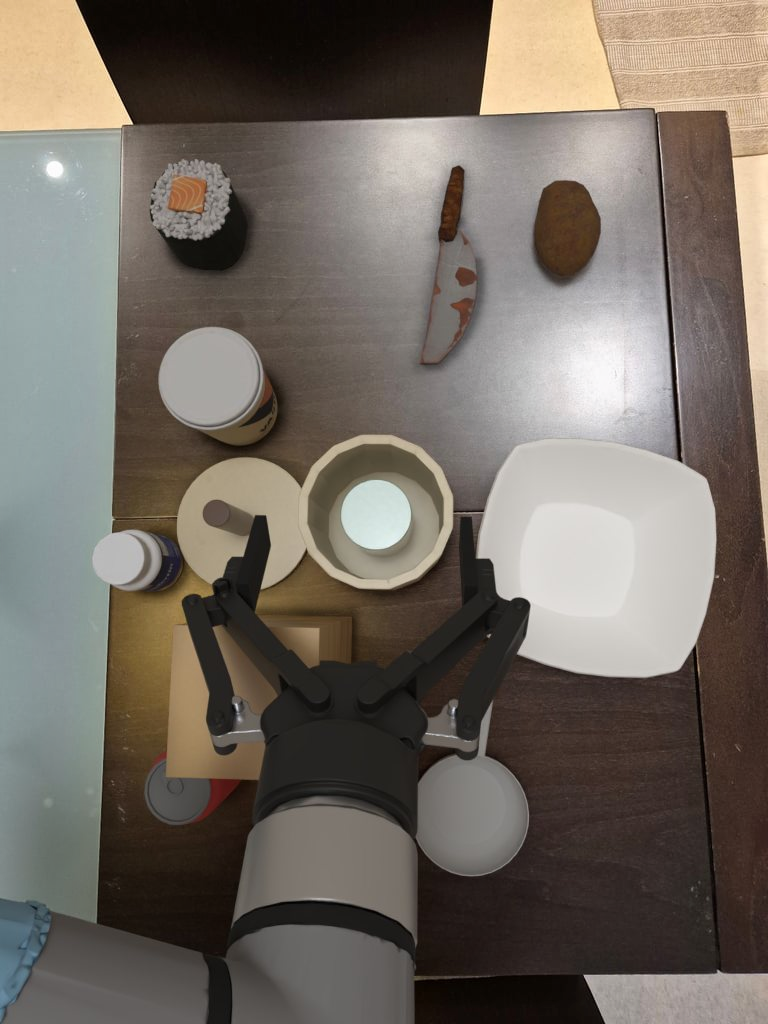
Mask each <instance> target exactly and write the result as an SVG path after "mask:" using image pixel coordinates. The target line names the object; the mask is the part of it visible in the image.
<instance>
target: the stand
mask: <svg viewBox="0 0 768 1024" xmlns="http://www.w3.org/2000/svg"><path fill="white" fill-rule="evenodd" d="M256 615H257V616H258V617H259V618H260V619H261V620H262V621H263V623H264V624H265V625H266V626H267V627H268V628H269V629H270V630H271V632H272V633H273V634H274V635H275V636H276V637H277V638H278V639H279V641H280V642H281V643H282V644H283V645H284V646H285V647H286V648H287V649H288V650H289V649H292V650H293V651H294V652H295V653H296V655H297V656H298V657H299V658H300V659H301V660H302V661H303V662H304V664H305V665H306V666H307V667H308V668H311V667H313V666H316V665H320V660H326V661H338V662H342V663H346V664H351V663H352V644H353V643H352V641H353V639H352V638H353V616H339V615H338V616H337V615H336V616H335V615H334V616H333V615H284V614H283V615H282V614H256ZM213 630H214V633H215V636H216V638H217V641H218V644H219V647H220V650H221V652H222V655H223V658H224V661H225V664H226V666H227V669H228V672H229V675H230V678H231V682H232V686H233V690H234V694H235V696H236V695H237V696H240V697H241V698H242V699H243V700H246V701H247V702H248V703H249V705H250V709H251V711H252V712H253V713H255V714H260V715H262V713H263V711H264V709H265V708H266V707H267V706H268V705H269V704H270V703H271V702H272V701H273V700H274V699H276V698H277V697H278V696H277V694H276V692H275V690H274V689H273V687H272V686H271V685H270V684H269V682H268V681H267V680H266V679H265V678H264V676H263V675H262V674H261V673H260V671H259V670H258V669H257V668H256V667H255V665H254V664H253V663H252V662H251V661H250V659H249V658H248V657H247V656H246V654H245V653H244V652H243V651H242V650H241V648H240V647H239V646H238V645H237V644H236V642H235V641H234V640H233V639H232V637H231V636H230V635H229V634H228V633H227V631H226V630H225V629H224V628H223V627H222V625H219V626H215V627H213ZM171 639H172V640H171V657H170V658H171V659H170V660H171V661H170V679H169V681H170V682H169V684H170V685H169V701H168V718H167V719H168V720H167V721H168V722H167V741H166V750H167V760H166V777H176V778H208V779H241V781H242V780H243V781H245V780H246V781H259V776H260V771H261V766H262V761H263V756H264V750H265V743H264V741H261V742H248V743H237V747H236V749H235V750H234V752H232V753H231V754H229V755H225V756H224V755H219V754H217V753H216V752H215V750H214V747H213V743H212V740H211V737H210V733H209V730H208V726H207V723H206V714H207V707H208V700H209V691H208V688H207V685H206V682H205V679H204V676H203V673H202V670H201V666H200V663H199V660H198V657H197V654H196V651H195V648H194V645H193V642H192V638H191V635H190V632H189V629H188V625H187V622H184V623H177V624H173V625H172V638H171Z"/></svg>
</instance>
